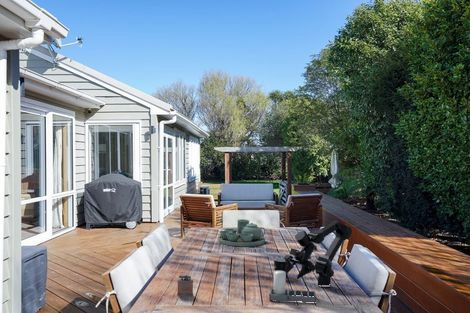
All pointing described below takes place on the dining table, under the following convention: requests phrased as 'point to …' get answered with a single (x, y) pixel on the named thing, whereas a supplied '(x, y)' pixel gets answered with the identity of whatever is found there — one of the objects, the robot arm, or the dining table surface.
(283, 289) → the white smooth rounded part
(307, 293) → the dish rack
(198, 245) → the dining table surface
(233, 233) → the tea set
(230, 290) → the dining table surface
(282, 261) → the mug
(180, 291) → the lighter
